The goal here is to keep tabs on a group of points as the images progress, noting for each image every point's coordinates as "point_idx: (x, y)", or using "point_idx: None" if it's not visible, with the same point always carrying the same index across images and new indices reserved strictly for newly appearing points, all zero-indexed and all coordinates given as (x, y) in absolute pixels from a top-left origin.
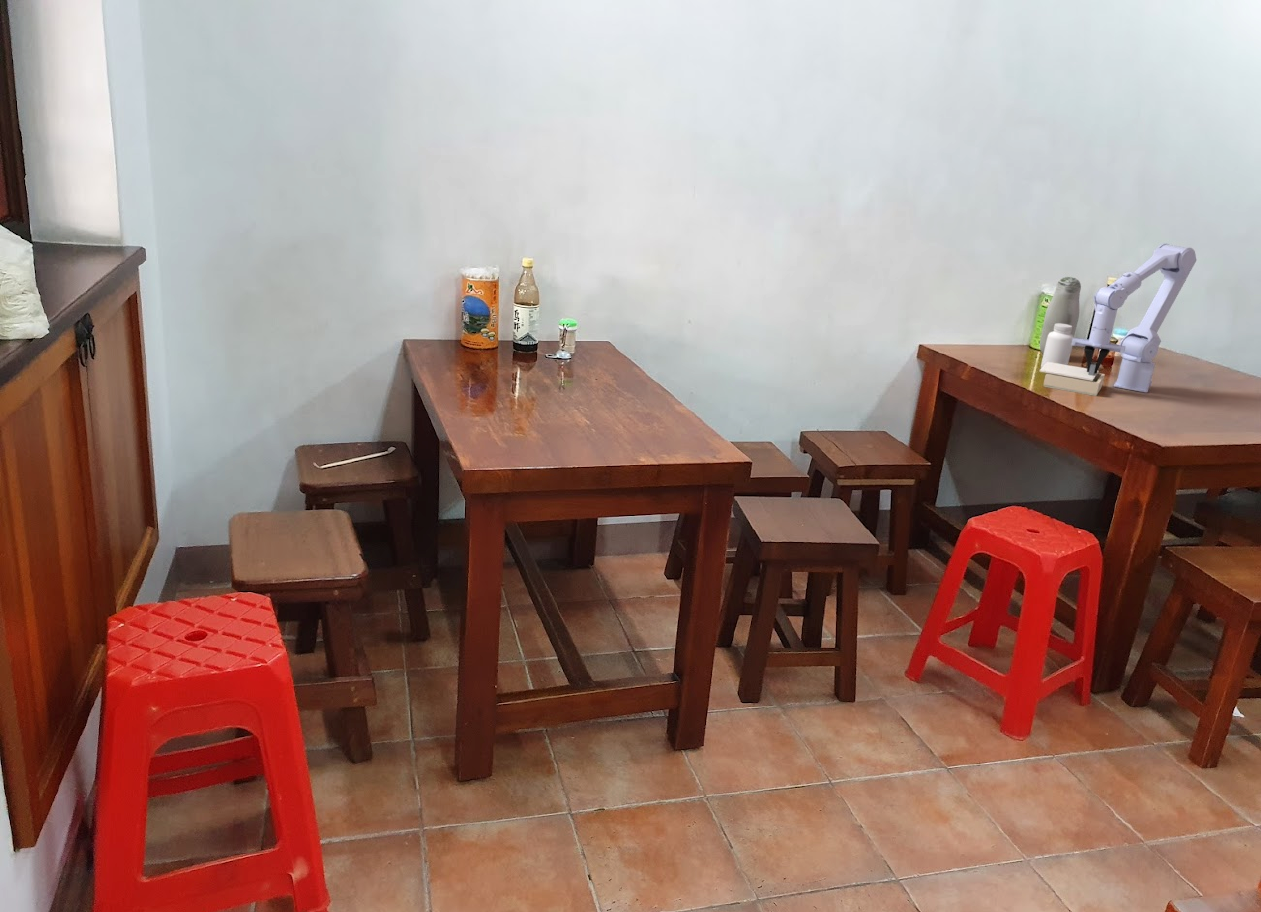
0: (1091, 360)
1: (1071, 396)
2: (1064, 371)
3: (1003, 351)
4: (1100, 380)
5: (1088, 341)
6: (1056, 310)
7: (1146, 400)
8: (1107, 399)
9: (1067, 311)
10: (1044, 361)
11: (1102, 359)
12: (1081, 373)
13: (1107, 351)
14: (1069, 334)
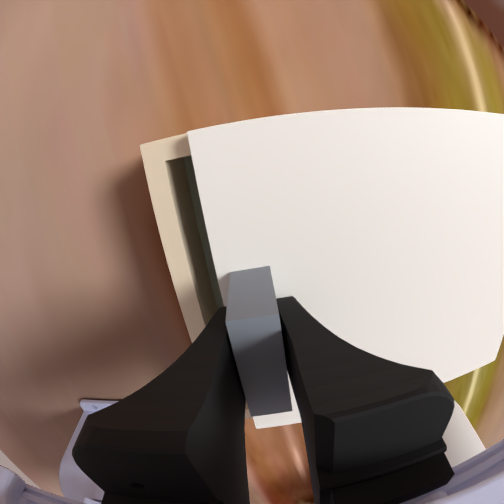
0: (298, 393)
1: (269, 9)
2: (433, 210)
3: (500, 438)
4: (165, 246)
5: None
6: None
7: (20, 293)
8: (103, 132)
9: None
10: (466, 417)
11: (157, 384)
12: (324, 266)
13: (122, 495)
14: None
